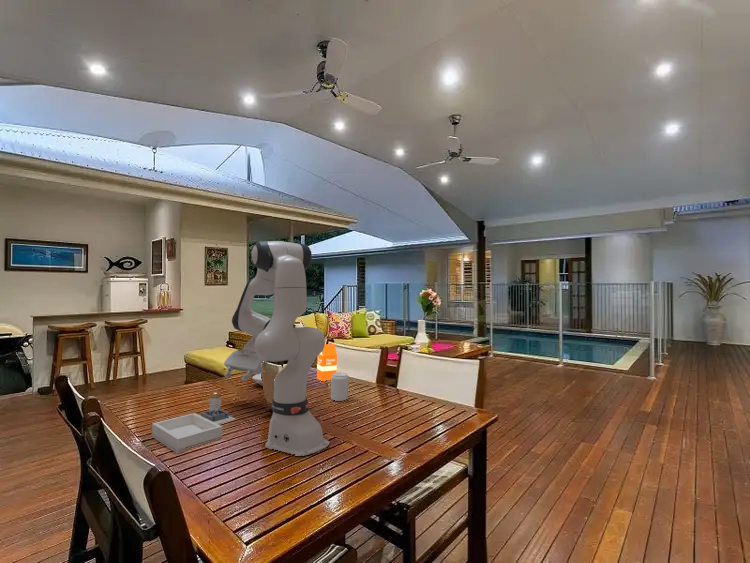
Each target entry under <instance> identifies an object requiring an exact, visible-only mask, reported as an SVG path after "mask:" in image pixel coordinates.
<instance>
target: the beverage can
mask: <svg viewBox="0 0 750 563" xmlns="http://www.w3.org/2000/svg"><path fill="white" fill-rule="evenodd" d="M330 399H331V401H333V400H335V401H334V402H336V401H341V400H345V401H347V400H348V399H349V374H348V373H347V372H341V371H339V372H338V371H337V373H333V374H332V376H331V381H330ZM346 399H347V400H346Z"/></svg>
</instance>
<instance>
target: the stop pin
mask: <svg viewBox="0 0 750 563" xmlns="http://www.w3.org/2000/svg"><path fill="white" fill-rule="evenodd" d="M221 396H222V391H221V390H211V391H210V392H209V410H208V411H209V415H210V416H212V417H213V416H214V415H218V414H220V409H221V404H222V403H221V402H222V401H221V400H222V399H221Z"/></svg>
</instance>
